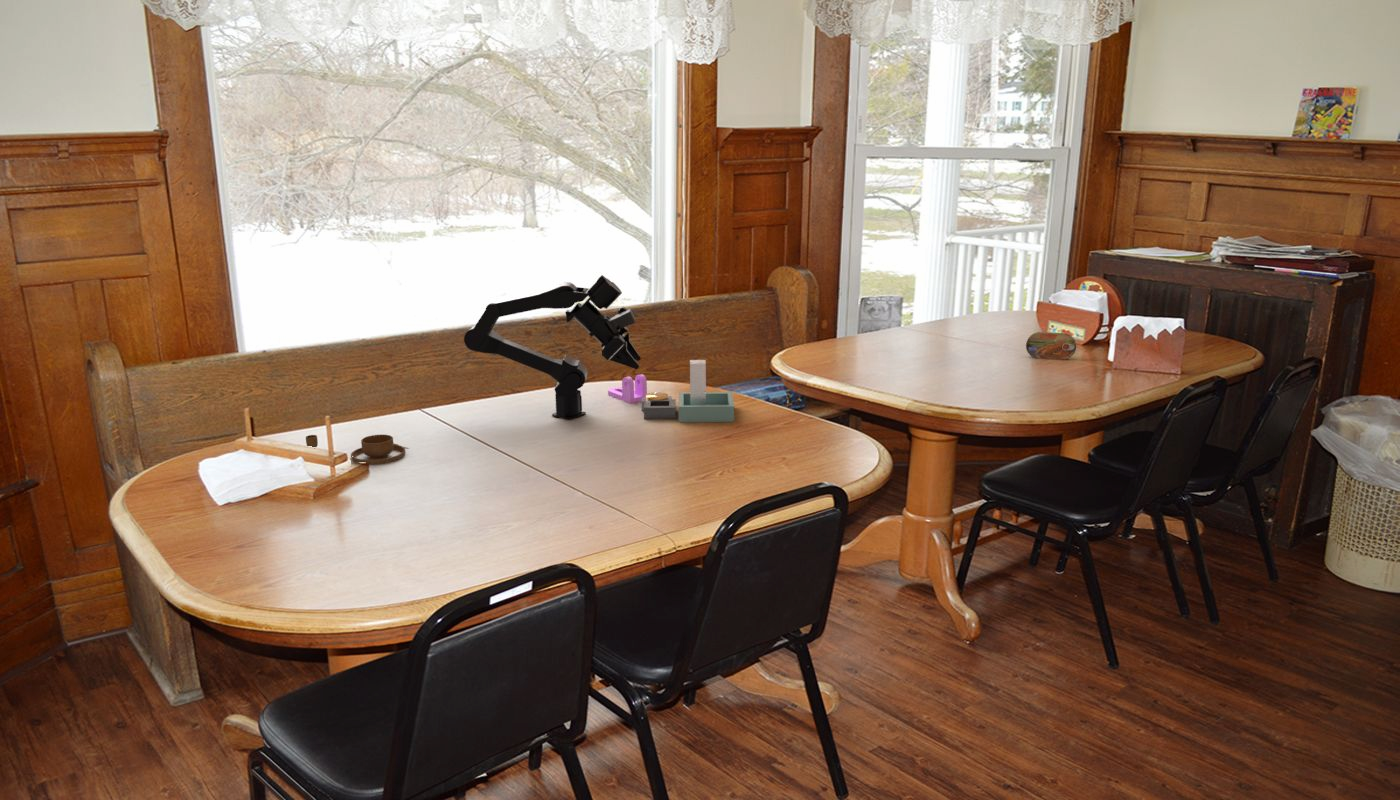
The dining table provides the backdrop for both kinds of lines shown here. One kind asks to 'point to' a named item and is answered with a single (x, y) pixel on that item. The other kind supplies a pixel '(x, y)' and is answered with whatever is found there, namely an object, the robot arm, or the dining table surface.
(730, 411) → the tray
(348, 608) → the dining table surface
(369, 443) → the place setting
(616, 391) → the bracket
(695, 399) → the pin
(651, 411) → the tensioner bracket
